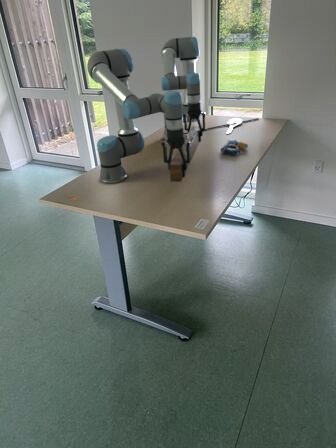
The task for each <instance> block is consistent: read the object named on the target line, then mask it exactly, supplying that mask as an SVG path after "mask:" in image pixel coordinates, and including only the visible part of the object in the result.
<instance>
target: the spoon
mask: <svg viewBox="0 0 336 448" xmlns="http://www.w3.org/2000/svg"><path fill="white" fill-rule="evenodd" d="M242 121H243V119H242V118H239V117H238V118H237V117H235V118H231V119H229V120H228V121H227V124H228V125H227V126H229V128H228V129H227V131H226V134H227V135H229V134H232V131H233V128H234V127H237V126H239V125H241V124H242V123H241V122H242ZM236 122H238V123H236ZM231 123H236V124H231Z"/></svg>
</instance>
